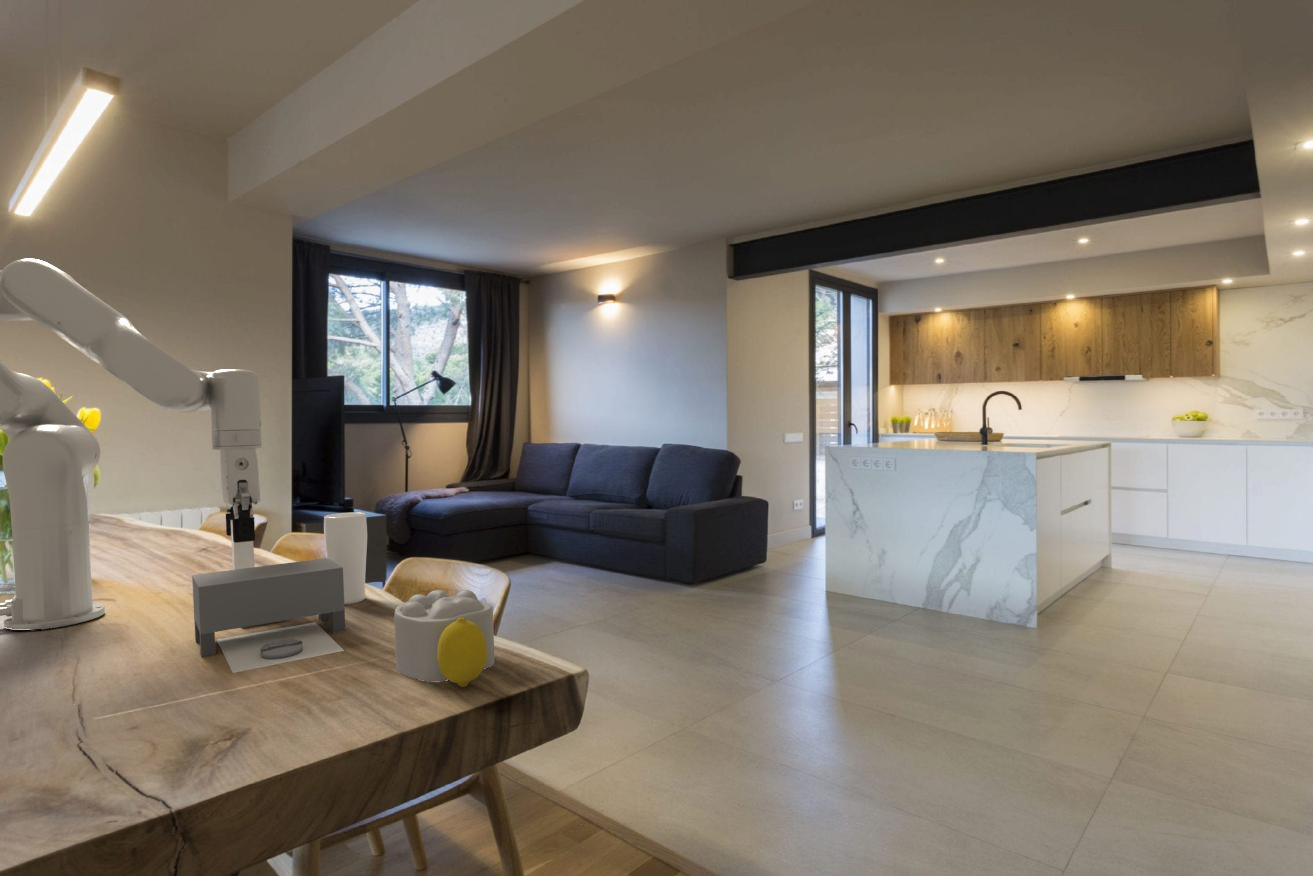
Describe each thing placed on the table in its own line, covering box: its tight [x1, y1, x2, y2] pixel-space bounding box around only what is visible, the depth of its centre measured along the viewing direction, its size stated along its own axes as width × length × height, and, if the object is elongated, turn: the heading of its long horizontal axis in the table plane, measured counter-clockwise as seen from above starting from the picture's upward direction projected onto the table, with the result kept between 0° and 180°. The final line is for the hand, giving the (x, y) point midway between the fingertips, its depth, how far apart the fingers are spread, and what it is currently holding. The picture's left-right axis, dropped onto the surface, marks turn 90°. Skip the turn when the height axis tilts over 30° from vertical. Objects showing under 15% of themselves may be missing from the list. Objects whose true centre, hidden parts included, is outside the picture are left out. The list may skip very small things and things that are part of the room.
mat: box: [216, 622, 345, 674], centre depth 101 cm, size 13×18×1 cm
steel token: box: [260, 639, 303, 659], centre depth 97 cm, size 5×5×1 cm
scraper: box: [230, 520, 286, 629], centre depth 121 cm, size 6×23×14 cm, turn 36°
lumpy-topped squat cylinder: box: [393, 589, 496, 681], centre depth 92 cm, size 10×13×9 cm
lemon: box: [437, 618, 487, 688], centre depth 84 cm, size 6×6×8 cm
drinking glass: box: [323, 511, 368, 605], centre depth 125 cm, size 7×7×15 cm
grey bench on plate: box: [192, 557, 346, 658], centre depth 106 cm, size 18×10×10 cm, turn 126°
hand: (240, 538), depth 128 cm, fingers open, 9 cm apart
